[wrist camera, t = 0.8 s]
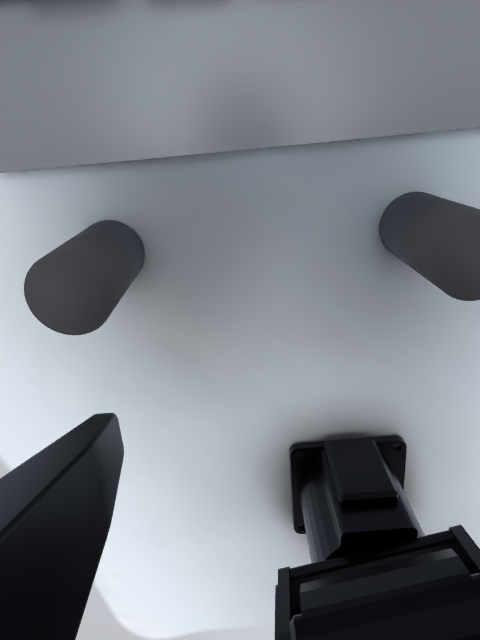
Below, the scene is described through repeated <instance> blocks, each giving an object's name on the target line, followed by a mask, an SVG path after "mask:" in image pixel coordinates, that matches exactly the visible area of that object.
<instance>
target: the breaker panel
mask: <svg viewBox="0 0 480 640" xmlns="http://www.w3.org/2000/svg"><path fill="white" fill-rule="evenodd" d="M470 128H480V0H0V173H4V172H15V171H25V170H36V169H47V168H57V167H68V166H78V165H89V164H100V163H110V162H121V161H131V160H142V159H152V158H163V157H174V156H184V155H195V154H205V153H216V152H226V151H237V150H248V149H258V148H269V147H279V146H290V145H301V144H311V143H322V142H332V141H343V140H353V139H364V138H375V137H385V136H396V135H406V134H417V133H427V132H438V131H449V130H459V129H470Z"/></svg>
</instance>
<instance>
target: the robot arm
mask: <svg viewBox="0 0 480 640" xmlns="http://www.w3.org/2000/svg"><path fill="white" fill-rule="evenodd" d="M396 444H399V445H398V446H396V447H394V445H396ZM406 448H407V447H406V443H405V441H404V440H403V438H402V437H400V436H388V437H376V438H364V439H351V440H339V441H327V442H314V443H302V444H295V445H293V446H292V447H291V448H290V451H289V455H290V473H291V491H292V510H293V525H294V530H295V531H296V532H297V533H299V534H306V535H307V540H308V545H309V551H310V556H311V562H312V563H311V564H307V565H303V566H299V567H295V568H291V569H290V567H285V568H281V569H278V585H276V595H275V640H480V549H479V547H478V546H477V545H476V544H475V542H474V541H473V540H472V538H471V537H470V536H469V535H468V533H467V532H466V531H465V529H464V528H463V527H462V526H461V525H458V526H454V527H450V528H449V530H447V531H443V532H439V533H435V534H431V535H426V536H425V535H424V533H423V531H422V529H421V527H420V524H419V522H418V520H417V518H416V516H415V514H414V512H413V510H412V508H411V506H410V504H409V501H408V499H407V497H406V495H405V493H404V491H403V489H404V476H405V462H406ZM297 452H302V453H301V454H299V455H297V454H296V453H297ZM123 457H124V447H123V442H122V437H121V432H120V427H119V422H118V418H117V416H116V415H115V414H114V413H102V414H95V415H93V416H92V417H90V418H89V419H87V420H86V421H84V422H83V423H81V424H80V425H78V426H77V427H75V428H74V429H72V430H71V431H70V432H68V433H67V434H65V435H64V436H62V437H61V438H59V439H58V440H56V441H55V442H53V443H52V444H50V445H49V446H47V447H46V448H44V449H43V450H42V451H40V452H39V453H37V454H36V455H34V456H33V457H31V458H30V459H28V460H27V461H25V462H24V463H22V464H21V465H19V466H18V467H16V468H15V469H14V470H12V471H11V472H9V473H8V474H6V475H5V476H3V477H2V478H0V640H75V639H76V636H77V632H78V629H79V626H80V623H81V620H82V616H83V613H84V610H85V607H86V603H87V600H88V597H89V594H90V591H91V588H92V584H93V581H94V578H95V575H96V571H97V568H98V565H99V562H100V559H101V555H102V552H103V549H104V546H105V543H106V539H107V536H108V532H109V529H110V525H111V520H112V516H113V510H114V505H115V500H116V495H117V489H118V484H119V479H120V473H121V468H122V463H123ZM300 525H302V526H300Z"/></svg>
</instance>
